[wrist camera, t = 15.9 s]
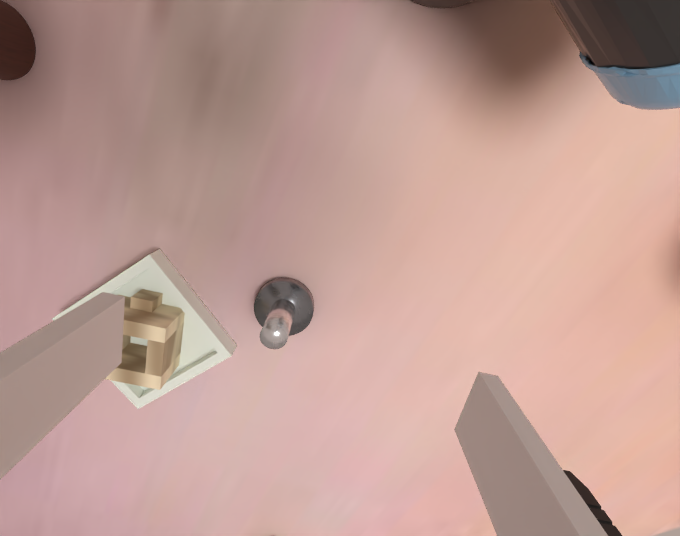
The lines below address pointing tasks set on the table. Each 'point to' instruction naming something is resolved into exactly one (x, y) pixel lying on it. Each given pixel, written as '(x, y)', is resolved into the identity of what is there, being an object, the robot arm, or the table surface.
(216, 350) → the tray
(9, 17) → the lamp
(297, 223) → the table surface
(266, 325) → the grey glass rounded piece
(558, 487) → the robot arm
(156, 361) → the tan wooden frame
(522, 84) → the table surface
